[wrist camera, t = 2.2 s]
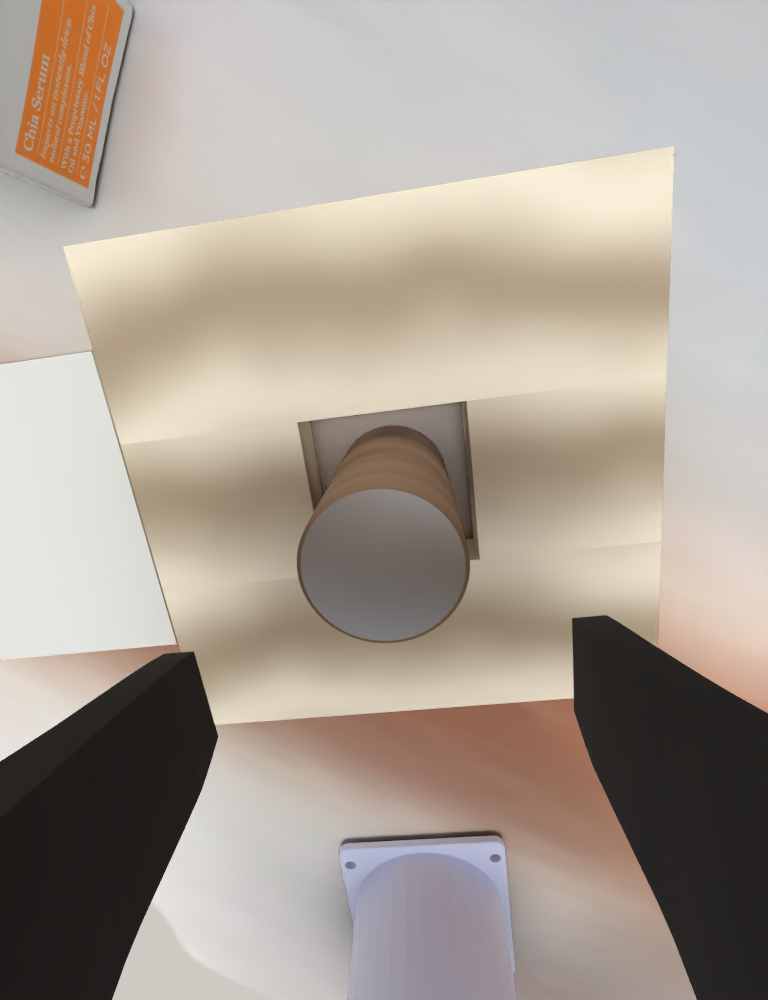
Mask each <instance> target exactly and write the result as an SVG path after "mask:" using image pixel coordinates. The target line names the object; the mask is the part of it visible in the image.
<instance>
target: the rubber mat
mask: <svg viewBox="0 0 768 1000" xmlns="http://www.w3.org/2000/svg"><path fill="white" fill-rule="evenodd" d="M177 643H178V641H177V637H176V634H175V630H174V627H173V623H172V620H171V617H170V613H169V610H168V606H167V603H166V599H165V596H164V592H163V589H162V586H161V582H160V579H159V575H158V572H157V568H156V565H155V562H154V558H153V555H152V551H151V548H150V544H149V541H148V537H147V534H146V531H145V527H144V524H143V520H142V517H141V513H140V510H139V506H138V503H137V500H136V496H135V493H134V489H133V486H132V482H131V479H130V476H129V472H128V469H127V465H126V462H125V458H124V455H123V451H122V448H121V445H120V441H119V438H118V434H117V431H116V427H115V424H114V420H113V417H112V414H111V410H110V407H109V403H108V400H107V396H106V393H105V389H104V386H103V383H102V379H101V376H100V372H99V369H98V365H97V362H96V359H95V355H94V352H93V351H90V352H83V353H76V354H69V355H62V356H55V357H48V358H41V359H34V360H27V361H20V362H14V363H7V364H0V656H1V658H2V660H5V659H16V658H27V657H38V656H49V655H60V654H72V653H83V652H94V651H105V650H116V649H127V648H138V647H149V646H160V645H172V644H177Z"/></svg>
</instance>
